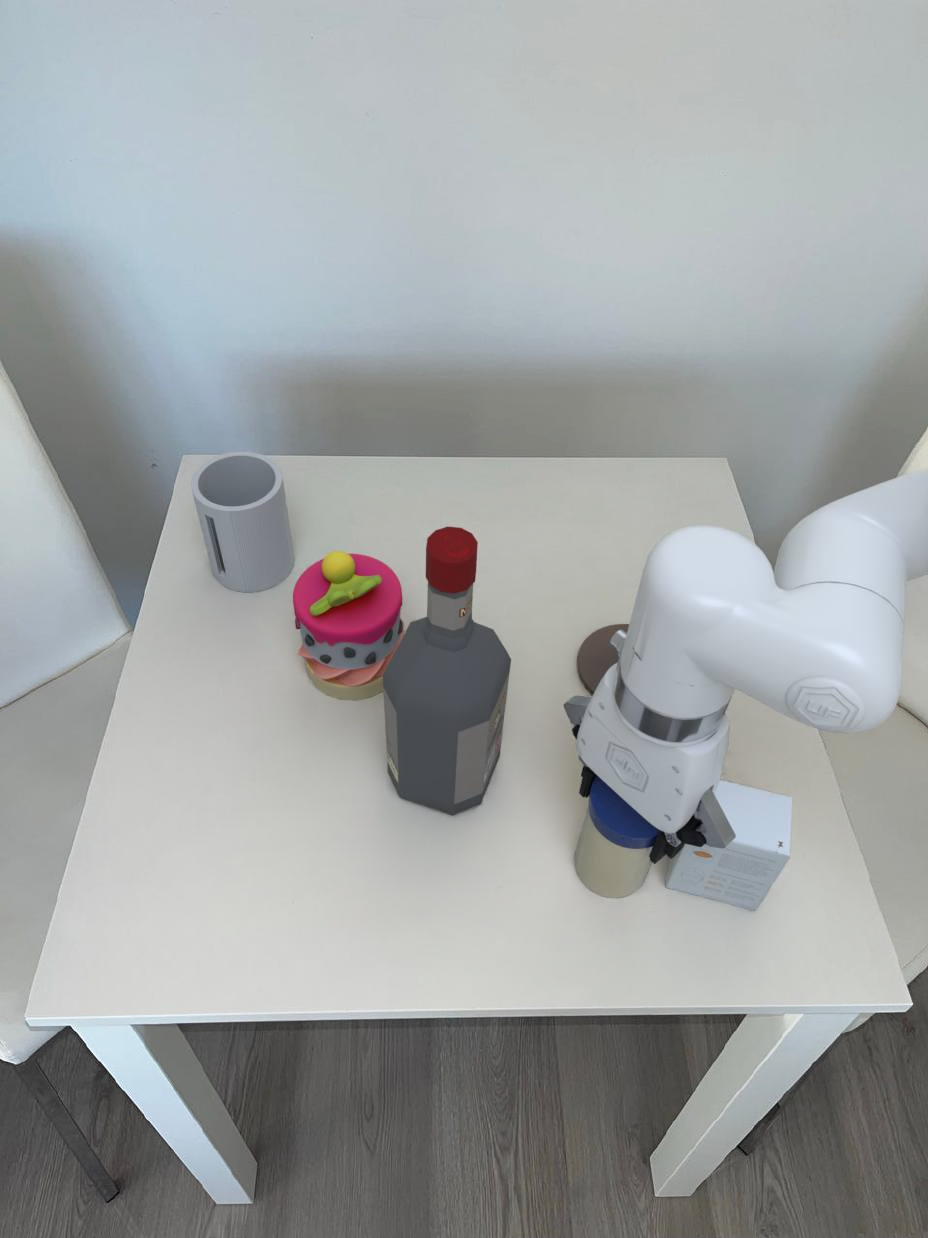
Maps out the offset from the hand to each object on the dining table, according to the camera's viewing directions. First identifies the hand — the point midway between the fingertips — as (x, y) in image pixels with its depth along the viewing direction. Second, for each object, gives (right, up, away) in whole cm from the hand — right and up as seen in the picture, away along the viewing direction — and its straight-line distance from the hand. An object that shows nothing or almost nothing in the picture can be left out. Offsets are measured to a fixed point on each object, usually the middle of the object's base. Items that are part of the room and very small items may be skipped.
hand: (628, 817), depth 76 cm
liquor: (-15, +2, +12) cm, 20 cm away
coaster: (+4, +11, +21) cm, 24 cm away
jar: (0, -6, +7) cm, 9 cm away
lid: (0, +2, -2) cm, 3 cm away
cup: (-37, +22, +29) cm, 52 cm away
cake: (-25, +12, +20) cm, 34 cm away
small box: (+8, -6, +7) cm, 13 cm away
